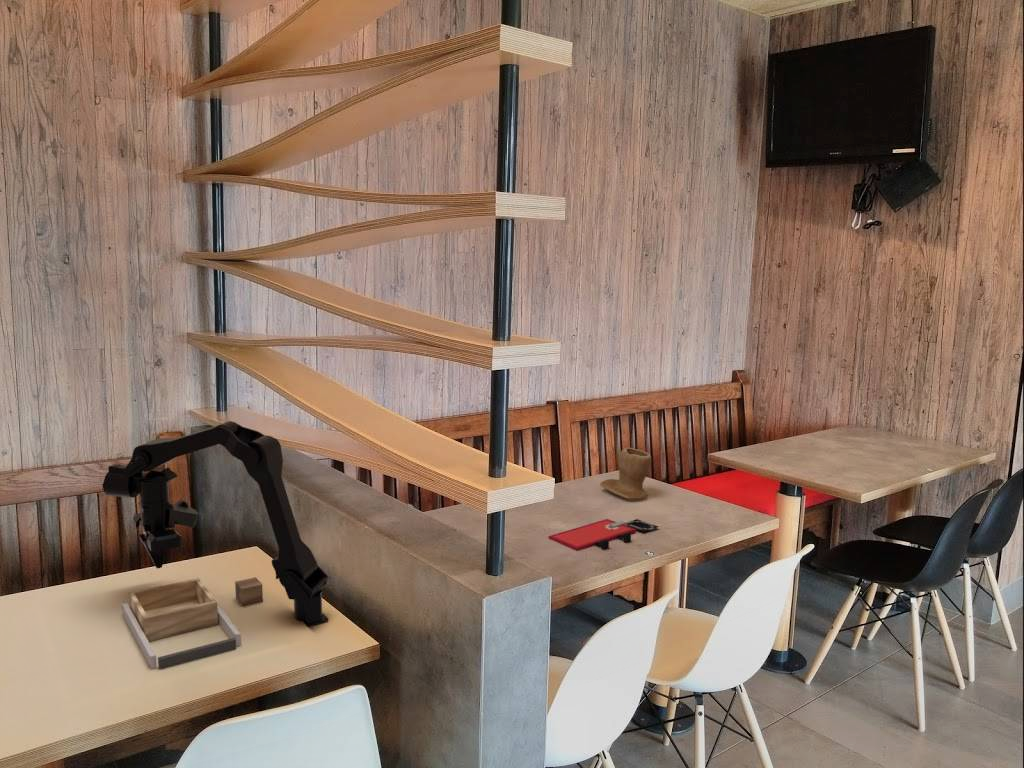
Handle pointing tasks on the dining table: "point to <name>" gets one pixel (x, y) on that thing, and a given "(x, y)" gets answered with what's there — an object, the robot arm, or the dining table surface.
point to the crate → (174, 609)
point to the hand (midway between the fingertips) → (158, 567)
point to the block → (249, 591)
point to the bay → (186, 654)
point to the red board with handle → (600, 533)
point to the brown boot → (630, 474)
